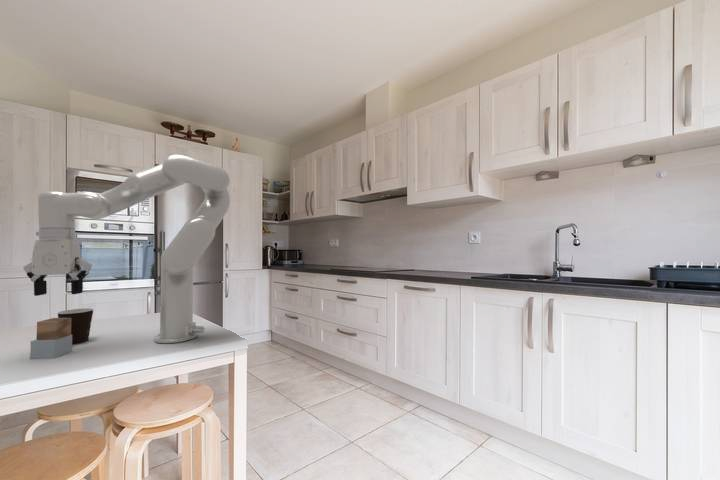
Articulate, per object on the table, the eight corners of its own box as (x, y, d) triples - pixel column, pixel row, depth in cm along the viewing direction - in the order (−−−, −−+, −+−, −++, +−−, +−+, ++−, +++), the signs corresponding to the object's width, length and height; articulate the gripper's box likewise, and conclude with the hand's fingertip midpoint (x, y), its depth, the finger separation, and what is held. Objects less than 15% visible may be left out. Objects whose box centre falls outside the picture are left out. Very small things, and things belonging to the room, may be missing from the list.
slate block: (71, 351, 92) (72, 334, 92) (54, 358, 86) (54, 340, 86) (49, 352, 91) (49, 335, 91) (30, 359, 85) (30, 341, 85)
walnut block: (55, 339, 87) (56, 321, 87) (36, 340, 86) (36, 322, 87) (70, 334, 92) (71, 317, 92) (52, 335, 91) (53, 317, 92)
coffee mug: (85, 344, 98) (86, 312, 98) (50, 347, 95) (51, 314, 95) (100, 334, 109) (101, 305, 109) (69, 337, 106) (70, 307, 106)
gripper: (11, 235, 85) (12, 297, 85) (79, 234, 87) (80, 295, 87) (36, 236, 93) (38, 293, 93) (99, 234, 94) (100, 291, 94)
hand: (58, 294), depth 90 cm, fingers open, 9 cm apart
